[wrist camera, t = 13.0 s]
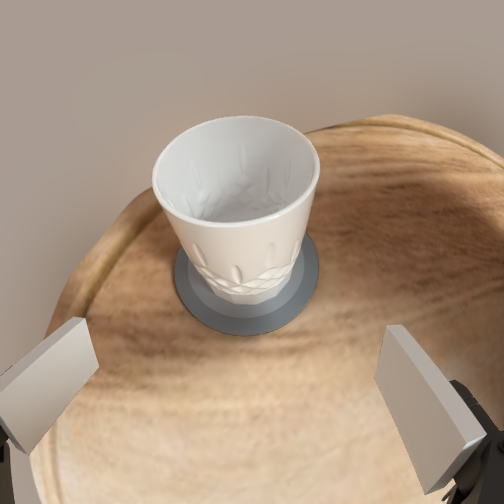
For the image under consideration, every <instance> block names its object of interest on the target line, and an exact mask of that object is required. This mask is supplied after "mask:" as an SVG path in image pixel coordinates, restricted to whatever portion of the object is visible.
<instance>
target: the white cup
mask: <svg viewBox="0 0 504 504" xmlns="http://www.w3.org/2000/svg"><path fill="white" fill-rule="evenodd" d="M319 173H320V161H319V157H318V154H317V151H316V149H315V148H314V146H313V144H312V143H311V142H310V141H309V140H308V138H307V137H306V136H304V135H303V134H302V133H301V132H299V131H297V130H296V129H295V128H293V127H291V126H289V125H287V124H285V123H282V122H280V121H277V120H274V119H269V118H265V117H259V116H229V117H223V118H218V119H213V120H210V121H207V122H204V123H201V124H198V125H196V126H194V127H192V128H190V129H188V130H186V131H185V132H183V133H181V134H180V135H178V136H177V137H176V138H174V139H173V140H172V141H171V142H170V143H169V144H168V145H167V146H166V147H165V148H164V149H163V150H162V152H161V153H160V155H159V156H158V158H157V160H156V162H155V164H154V167H153V171H152V188H153V191H154V194H155V196H156V198H157V200H158V202H159V204H160V206H161V208H162V209H163V211H164V213H165V215H166V217H167V219H168V221H169V222H170V224H171V226H172V228H173V230H174V232H175V234H176V235H177V237H178V239H179V241H180V243H181V245H182V246H183V248H184V250H185V252H186V253H187V255H188V257H189V258H190V260H191V262H192V263H193V264H194V266H195V268H196V269H197V271H198V272H199V274H201V275H202V277H203V279H204V280H205V282H206V283H207V284H208V286H209V287H210V288H211V290H212V291H213V292H214V294H215V295H216V296H218V297H220V298H222V299H224V300H226V301H228V302H231V303H233V304H240V305H257V304H259V303H261V302H264V301H266V300H268V299H271V298H273V297H275V296H277V294H278V293H279V292H280V291H281V290H282V289H283V287H284V286H285V285H286V284H287V283H288V282H289V280H290V277H291V272H292V268H293V265H294V263H295V261H296V259H297V257H298V254H299V251H300V248H301V244H302V240H303V237H304V234H305V231H306V227H307V223H308V219H309V215H310V211H311V207H312V203H313V199H314V194H315V190H316V186H317V182H318V178H319Z"/></svg>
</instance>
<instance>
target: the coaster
mask: <svg viewBox="0 0 504 504" xmlns="http://www.w3.org/2000/svg"><path fill="white" fill-rule="evenodd" d="M318 273H319V262H318V256H317V252H316V249H315V246H314V244H313V242H312V240H311V238H310V237H309V235H308V234H307V232H306V231H305V234H304V237H303V240H302V244H301V248H300V251H299V254H298V257H297V259H296V261H295V263H294V265H293V268H292V272H291V277H290V280H289V282H288V283H287V284H286V285H285V286H284V287H283V289H282V290H281V291H280V292H279V293H278V294H277V296H275V297H273V298H271V299H268V300H266V301H264V302H261V303H259V304H257V305H240V304H233V303H231V302H228V301H226V300H224V299H222V298H220V297H218V296H216V295H215V294H214V292H213V291H212V290H211V288H210V287H209V286H208V284H207V283H206V282H205V280H204V279H203V277H202V275H201V274H199V272H198V271H197V269H196V268H195V266H194V264H193V263H192V262H191V260H190V258H189V257H188V255H187V253H186V252H185V250H184V248H183V246H182V245H181V246H180V248H179V251H178V253H177V256H176V261H175V268H174V276H175V283H176V288H177V291H178V293H179V296H180V298H181V299H182V301H183V303H184V305H185V306H186V307H187V309H188V310H189V311H190V312H191V314H192V315H193V316H194V317H196V318H197V319H198V320H199V321H200V322H202V323H203V324H204V325H206V326H208V327H210V328H212V329H214V330H216V331H219V332H222V333H224V334H229V335H234V336H255V335H260V334H265V333H268V332H271V331H274V330H277V329H279V328H280V327H282V326H284V325H286V324H287V323H289V322H290V321H292V320H293V319H294V318H295V317H296V316H298V315H299V314H300V313H301V312H302V310H303V309H304V308H305V307H306V305H307V304H308V302H309V300H310V299H311V297H312V295H313V292H314V290H315V287H316V284H317V280H318Z"/></svg>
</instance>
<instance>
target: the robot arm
mask: <svg viewBox="0 0 504 504" xmlns="http://www.w3.org/2000/svg"><path fill="white" fill-rule="evenodd" d="M98 368H99V364H98V361H97V358H96V355H95V352H94V348H93V345H92V342H91V338H90V335H89V331H88V327H87V323H86V319H85V318H80V317H72V318H71V319H70V320H68V321H67V322H66V323H64V324H63V325H62V326H61V327H59V328H58V329H57V330H56V331H54V332H53V333H52V334H51V335H49V336H48V337H47V338H46V339H44V340H43V341H42V342H41V343H39V344H38V345H37V346H36V347H35V348H33V349H32V350H31V351H30V352H28V353H27V354H26V355H25V356H24V357H22V358H21V359H20V360H19V361H18V362H16V363H15V364H14V365H12V366H11V367H10V368H9V369H8V370H7V371H5V373H3V374H2V375H1V376H0V504H15V501H14V494H13V486H12V477H11V466H10V448H9V445H8V443H7V442H6V440H8V438H10V440H11V441H12V443H13V444H14V445H15V447H16V448H17V449H19V450H20V451H22V452H23V453H25V454H27V455H28V456H29V455H30V453H31V452H32V451H33V449H34V448H35V447H36V445H37V444H38V443H39V441H40V440H41V439H42V437H43V436H44V435H45V434H46V432H47V431H48V430H49V428H50V427H51V426H52V425H53V423H54V422H55V421H56V419H57V418H58V417H59V416H60V414H61V413H62V412H63V411H64V409H65V408H66V407H67V406H68V404H69V403H70V402H71V401H72V399H73V398H74V397H75V396H76V394H77V393H78V392H79V391H80V390H81V388H82V387H83V386H84V385H85V383H86V382H87V381H88V380H89V379H90V377H91V376H92V375H93V374H94V373H95V371H96V370H97V369H98ZM374 379H375V381H376V383H377V385H378V387H379V389H380V392H381V394H382V396H383V398H384V400H385V402H386V404H387V406H388V409H389V411H390V413H391V415H392V417H393V420H394V422H395V424H396V426H397V428H398V431H399V433H400V435H401V438H402V440H403V442H404V444H405V447H406V449H407V452H408V454H409V456H410V459H411V461H412V463H413V466H414V468H415V471H416V473H417V476H418V478H419V481H420V483H421V486H422V489H423V491H424V494H425V495H426V494H429V493H431V492H434V491H437V490H439V489H441V488H444V487H445V486H446V485H447V484H448V483H449V482H450V481H451V479H452V478H454V480H455V483H456V484H455V485H454V486H453V487H452V488H451V489H450V491H449V492H448V493H447V494H446V495H445V496H444V497H443V499H442V500H441V501H445V500H446V499H447V498H448V497H449V499H448V501H447V504H504V431H501V432H500V431H499V430H498V428H497V427H496V426H495V424H494V423H493V422H492V420H491V419H490V417H489V416H488V415H487V413H486V412H485V411H484V409H483V408H482V407H481V406H480V405H478V402H477V400H476V399H475V398H473V395H472V394H471V393H470V391H469V390H468V389H467V388H466V387H465V386H464V385H462V384H461V383H459V382H458V381H456V380H453V381H448V380H447V379H446V377H445V376H444V375H443V373H442V372H441V371H440V370H439V368H438V367H437V366H436V365H435V363H434V362H433V361H432V360H431V358H430V357H429V356H428V355H427V353H426V352H425V351H424V350H423V349H422V347H421V346H420V345H419V344H418V343H417V341H416V340H415V339H414V338H413V337H412V335H411V334H410V333H409V332H408V331H407V330H406V328H405V327H404V326H403V325H402V324H398V325H387V326H386V328H385V333H384V338H383V343H382V347H381V352H380V356H379V360H378V364H377V368H376V372H375V376H374Z"/></svg>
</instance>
